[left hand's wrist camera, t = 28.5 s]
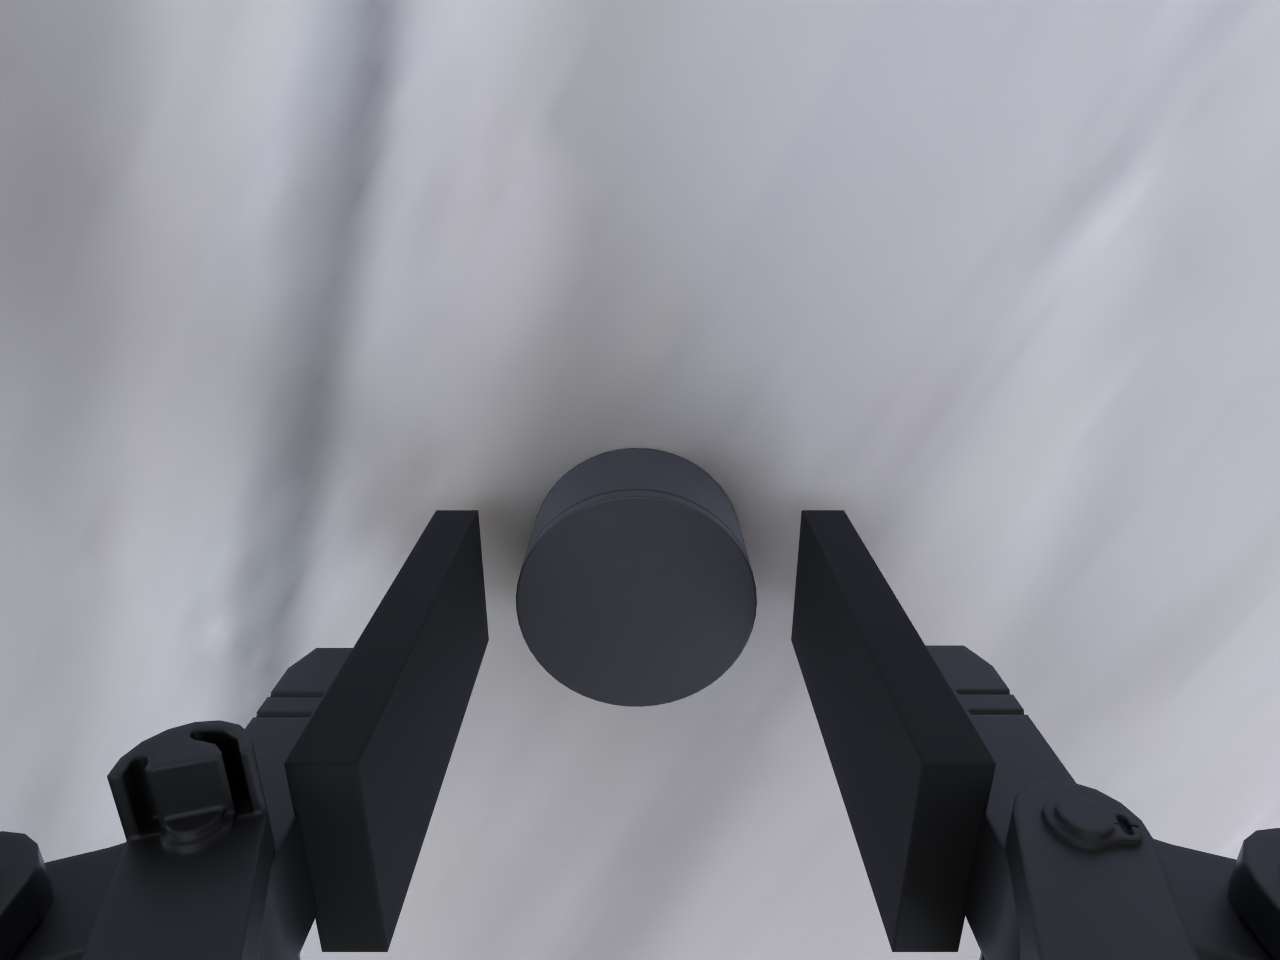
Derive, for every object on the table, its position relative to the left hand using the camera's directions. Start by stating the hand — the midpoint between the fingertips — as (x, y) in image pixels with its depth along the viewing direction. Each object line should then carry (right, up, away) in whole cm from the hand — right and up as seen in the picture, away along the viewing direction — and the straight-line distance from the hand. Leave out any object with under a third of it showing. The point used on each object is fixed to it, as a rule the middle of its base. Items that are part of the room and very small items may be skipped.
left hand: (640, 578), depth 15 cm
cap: (0, 0, -1) cm, 1 cm away
